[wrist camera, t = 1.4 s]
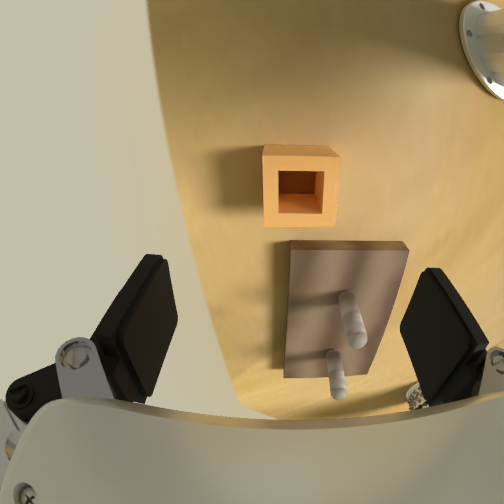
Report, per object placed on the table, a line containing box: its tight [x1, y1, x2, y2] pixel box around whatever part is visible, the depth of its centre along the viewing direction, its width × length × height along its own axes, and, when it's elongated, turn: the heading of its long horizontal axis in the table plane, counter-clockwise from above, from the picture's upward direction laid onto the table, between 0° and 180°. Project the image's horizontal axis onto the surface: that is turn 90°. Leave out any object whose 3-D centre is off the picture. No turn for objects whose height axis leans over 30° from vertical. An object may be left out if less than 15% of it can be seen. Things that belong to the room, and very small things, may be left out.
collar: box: [262, 145, 340, 227], centre depth 24 cm, size 6×6×5 cm
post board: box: [284, 240, 409, 400], centre depth 31 cm, size 13×22×10 cm, turn 2°
